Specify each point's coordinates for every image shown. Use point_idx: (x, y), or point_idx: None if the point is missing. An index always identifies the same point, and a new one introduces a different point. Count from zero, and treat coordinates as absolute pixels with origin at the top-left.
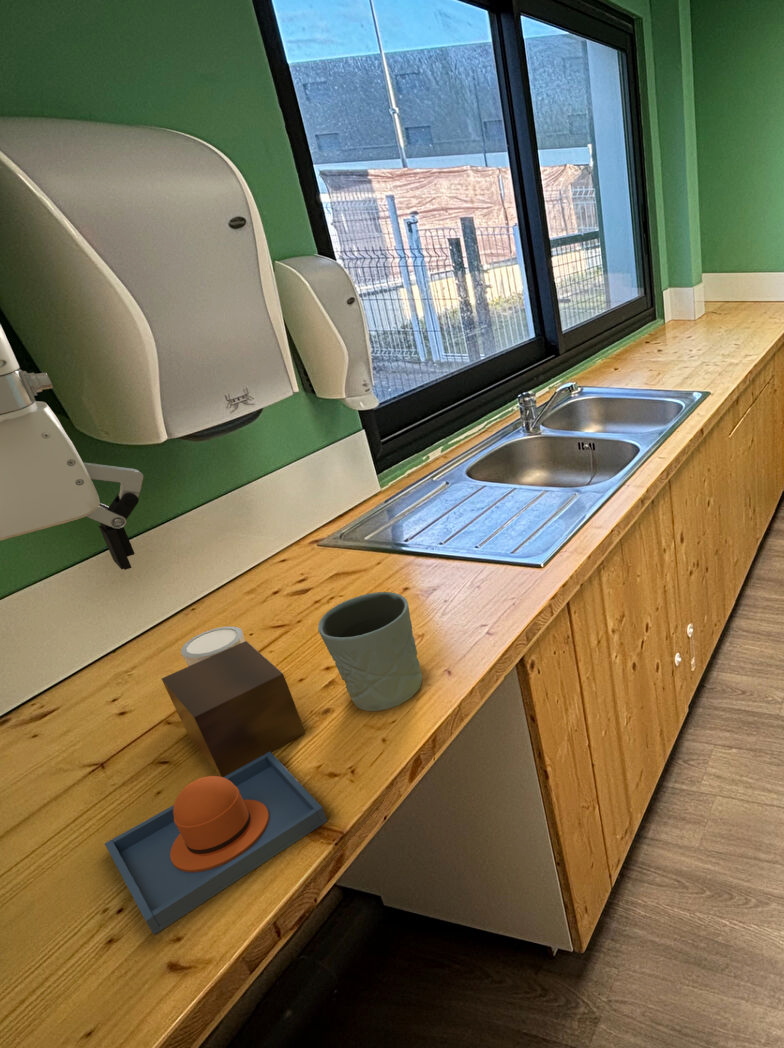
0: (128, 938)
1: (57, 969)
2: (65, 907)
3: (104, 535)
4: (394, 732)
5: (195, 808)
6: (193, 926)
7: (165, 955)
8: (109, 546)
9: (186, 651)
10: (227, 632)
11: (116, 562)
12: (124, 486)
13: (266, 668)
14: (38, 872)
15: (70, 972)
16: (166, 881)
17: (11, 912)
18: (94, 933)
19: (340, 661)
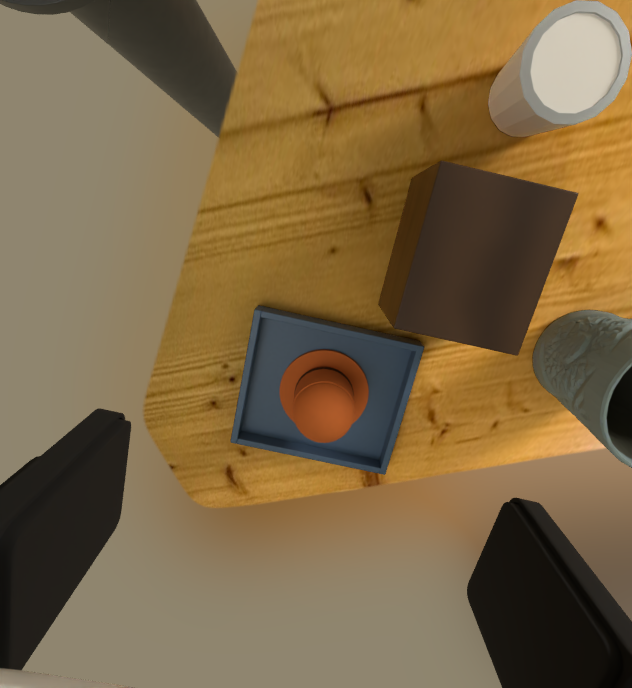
0: (222, 414)
1: (178, 390)
2: (207, 327)
3: (556, 676)
4: (509, 425)
5: (306, 436)
6: (255, 453)
7: (230, 457)
8: (523, 621)
9: (532, 52)
10: (609, 60)
11: (489, 556)
12: None
13: (520, 317)
14: (210, 249)
15: (183, 403)
16: (267, 395)
17: (177, 282)
18: (209, 382)
19: (576, 387)
